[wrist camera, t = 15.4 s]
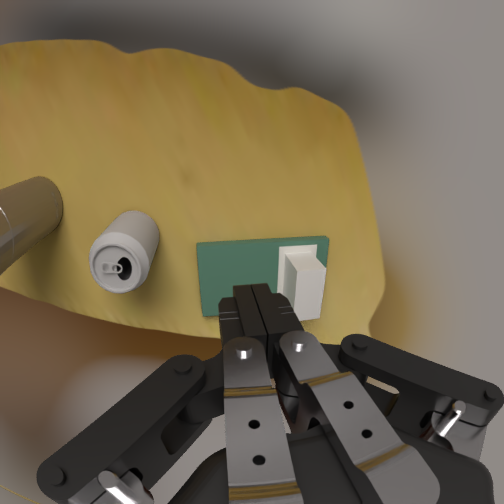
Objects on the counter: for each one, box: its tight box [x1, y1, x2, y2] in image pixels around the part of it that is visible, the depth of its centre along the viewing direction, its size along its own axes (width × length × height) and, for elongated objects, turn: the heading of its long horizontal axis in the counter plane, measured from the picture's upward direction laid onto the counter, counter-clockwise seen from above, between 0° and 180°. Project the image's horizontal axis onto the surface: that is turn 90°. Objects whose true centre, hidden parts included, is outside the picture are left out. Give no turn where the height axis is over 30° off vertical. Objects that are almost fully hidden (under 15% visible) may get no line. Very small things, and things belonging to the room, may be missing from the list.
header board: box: [197, 236, 329, 316], centre depth 43 cm, size 20×12×4 cm, turn 90°
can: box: [89, 211, 159, 293], centre depth 34 cm, size 8×8×12 cm
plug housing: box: [283, 252, 326, 321], centre depth 42 cm, size 8×4×6 cm, turn 0°
